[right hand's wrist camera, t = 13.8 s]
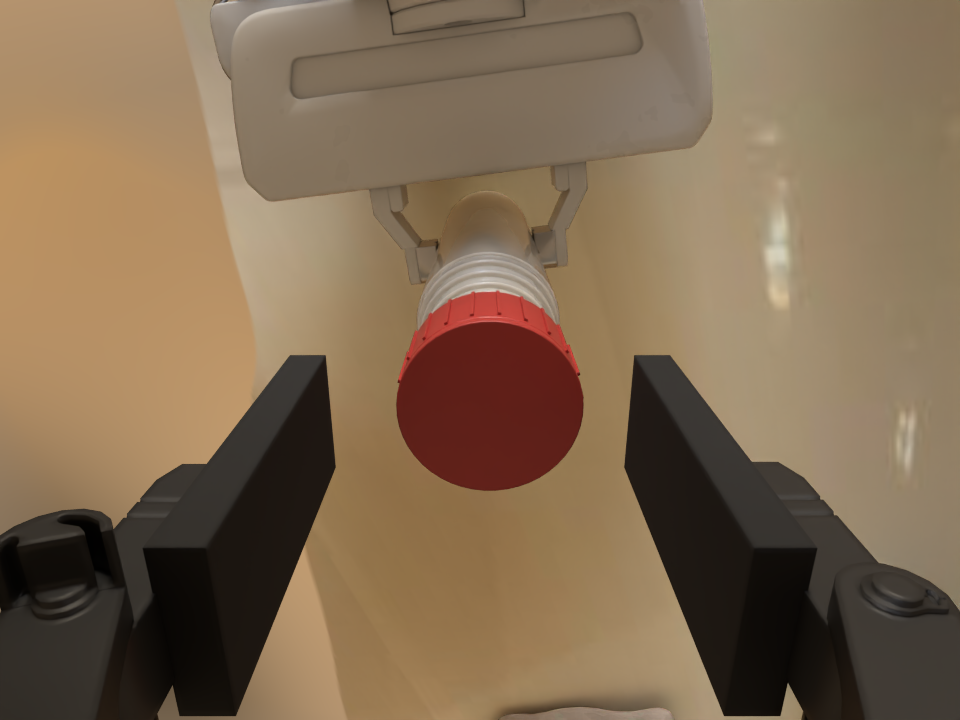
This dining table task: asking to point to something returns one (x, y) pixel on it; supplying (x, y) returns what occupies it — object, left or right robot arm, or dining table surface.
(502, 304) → the cap
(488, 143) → the left robot arm
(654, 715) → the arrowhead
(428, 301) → the bottle
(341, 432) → the dining table surface
